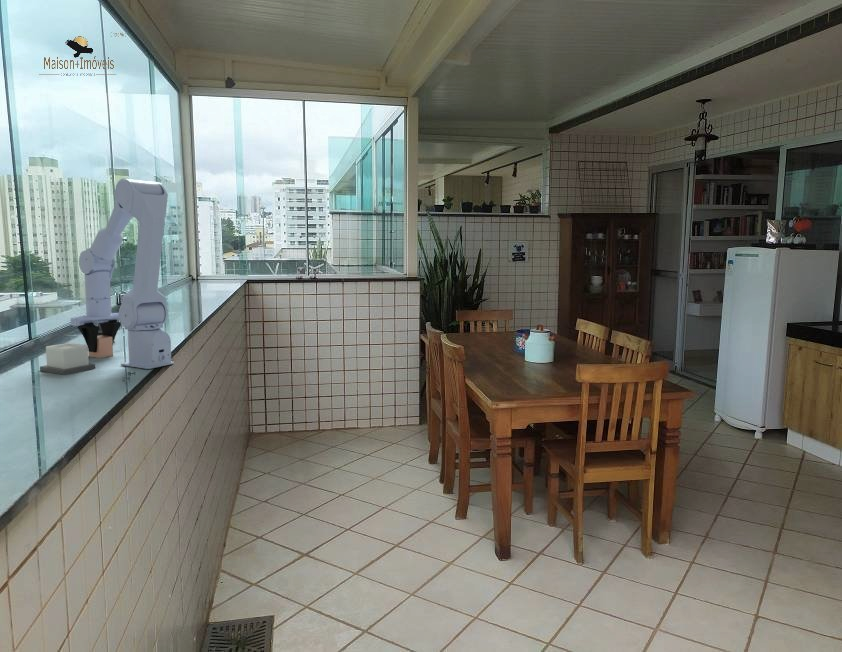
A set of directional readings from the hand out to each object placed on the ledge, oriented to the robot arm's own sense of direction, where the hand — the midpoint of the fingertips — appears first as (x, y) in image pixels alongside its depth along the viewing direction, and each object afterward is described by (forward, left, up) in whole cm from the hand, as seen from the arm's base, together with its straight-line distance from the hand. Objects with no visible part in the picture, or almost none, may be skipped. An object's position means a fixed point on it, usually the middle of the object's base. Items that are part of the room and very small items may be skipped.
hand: (100, 350), depth 159 cm
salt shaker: (+16, -14, -2) cm, 21 cm away
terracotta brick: (0, 0, -1) cm, 1 cm away
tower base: (-8, +15, -1) cm, 17 cm away
